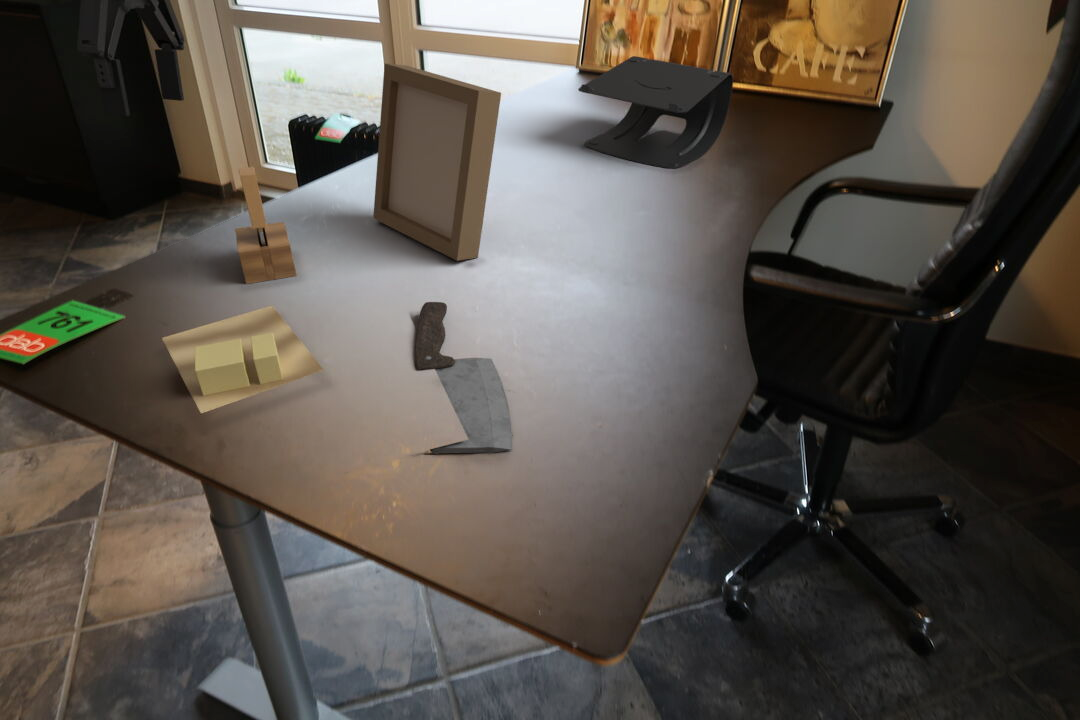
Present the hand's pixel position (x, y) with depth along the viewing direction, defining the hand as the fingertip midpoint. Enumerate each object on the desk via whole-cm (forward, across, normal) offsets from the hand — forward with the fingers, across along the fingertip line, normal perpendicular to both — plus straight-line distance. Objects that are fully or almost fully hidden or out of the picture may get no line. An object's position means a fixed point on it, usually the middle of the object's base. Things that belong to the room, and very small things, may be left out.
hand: (147, 107), depth 94 cm
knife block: (+22, +2, -13) cm, 26 cm away
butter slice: (+24, -26, -24) cm, 43 cm away
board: (+25, -22, -20) cm, 39 cm away
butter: (+24, -28, -20) cm, 42 cm away
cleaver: (+24, -23, -46) cm, 57 cm away
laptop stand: (+11, +64, -75) cm, 100 cm away
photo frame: (+19, +17, -38) cm, 46 cm away
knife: (+22, +2, -13) cm, 26 cm away
